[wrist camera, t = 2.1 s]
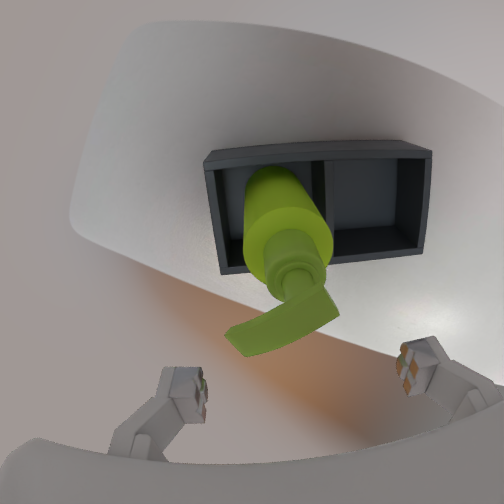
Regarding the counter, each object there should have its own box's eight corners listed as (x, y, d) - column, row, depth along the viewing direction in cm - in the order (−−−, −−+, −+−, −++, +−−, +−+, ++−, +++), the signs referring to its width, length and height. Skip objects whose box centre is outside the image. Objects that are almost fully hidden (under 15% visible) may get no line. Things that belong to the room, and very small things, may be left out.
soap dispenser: (225, 191, 31) (196, 314, 14) (282, 154, 30) (336, 236, 12) (256, 234, 34) (265, 384, 16) (311, 202, 32) (383, 327, 14)
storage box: (211, 150, 30) (202, 162, 24) (401, 140, 29) (432, 150, 24) (225, 245, 35) (220, 275, 29) (397, 229, 34) (422, 254, 28)
